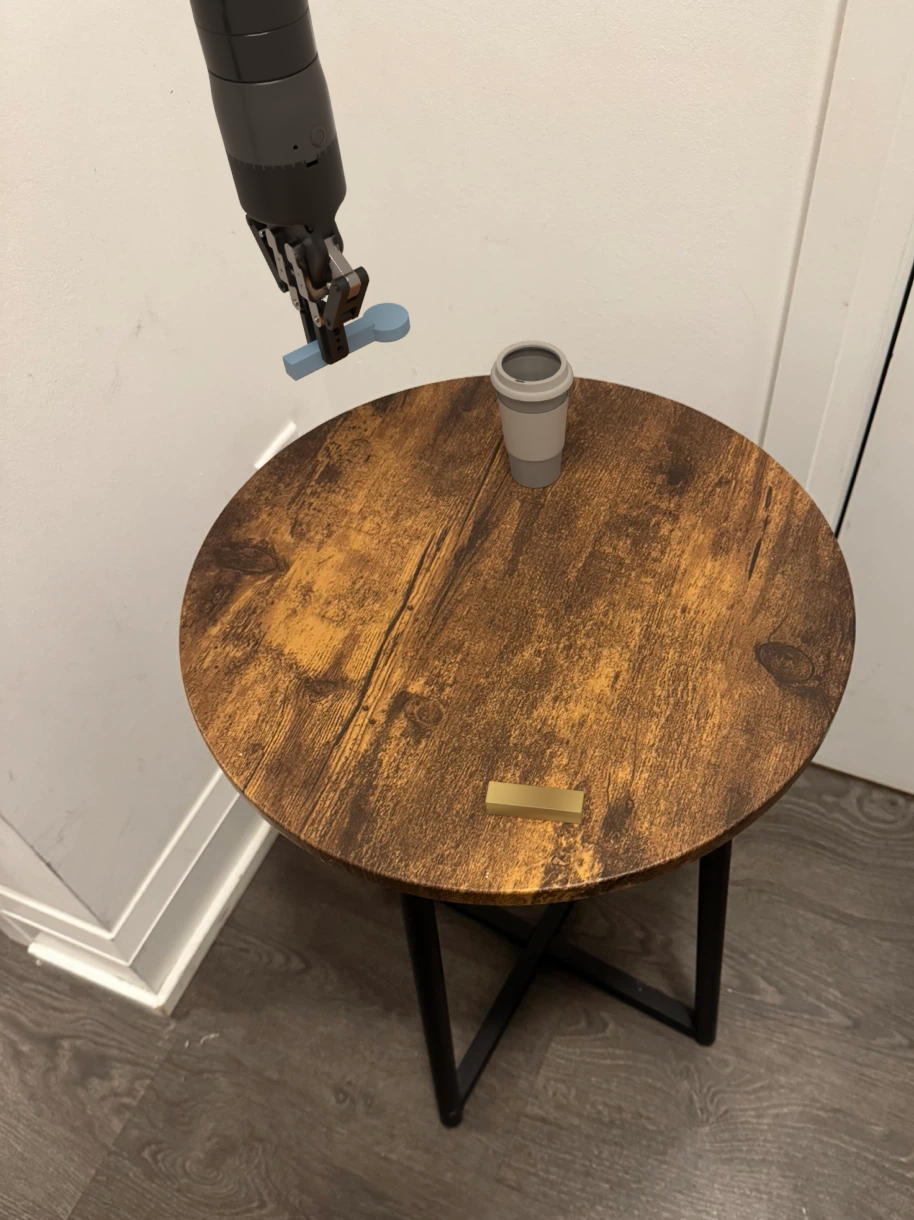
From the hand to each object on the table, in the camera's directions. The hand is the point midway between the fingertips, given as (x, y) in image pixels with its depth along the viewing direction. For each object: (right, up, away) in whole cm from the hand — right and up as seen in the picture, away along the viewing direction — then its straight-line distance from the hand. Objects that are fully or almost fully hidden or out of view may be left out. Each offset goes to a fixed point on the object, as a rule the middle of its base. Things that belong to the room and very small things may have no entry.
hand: (329, 352), depth 83 cm
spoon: (+1, 0, +1) cm, 1 cm away
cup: (+17, -7, +13) cm, 22 cm away
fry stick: (+17, -36, -7) cm, 40 cm away
